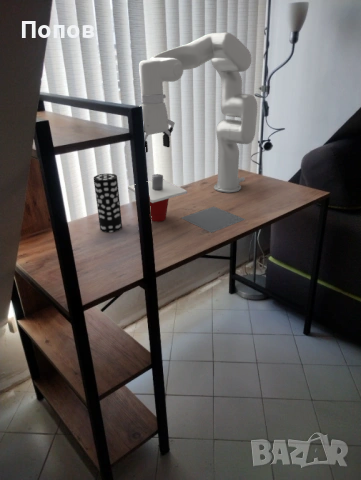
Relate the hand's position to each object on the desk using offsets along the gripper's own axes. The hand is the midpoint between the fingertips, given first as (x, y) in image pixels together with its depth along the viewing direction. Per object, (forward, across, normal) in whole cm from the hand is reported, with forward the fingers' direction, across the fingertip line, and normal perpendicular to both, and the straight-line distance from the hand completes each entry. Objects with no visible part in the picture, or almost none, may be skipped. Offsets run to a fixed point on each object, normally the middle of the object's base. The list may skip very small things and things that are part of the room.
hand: (155, 149), depth 140 cm
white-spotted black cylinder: (+28, +19, -6) cm, 34 cm away
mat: (+28, -15, +14) cm, 35 cm away
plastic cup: (+28, +1, 0) cm, 28 cm away
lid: (+16, +1, 0) cm, 16 cm away
